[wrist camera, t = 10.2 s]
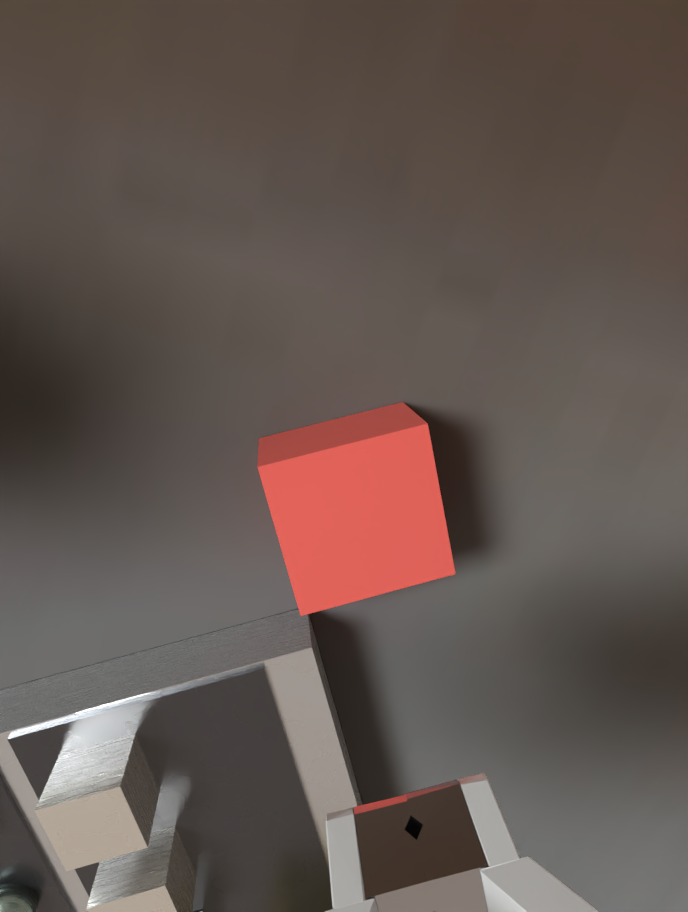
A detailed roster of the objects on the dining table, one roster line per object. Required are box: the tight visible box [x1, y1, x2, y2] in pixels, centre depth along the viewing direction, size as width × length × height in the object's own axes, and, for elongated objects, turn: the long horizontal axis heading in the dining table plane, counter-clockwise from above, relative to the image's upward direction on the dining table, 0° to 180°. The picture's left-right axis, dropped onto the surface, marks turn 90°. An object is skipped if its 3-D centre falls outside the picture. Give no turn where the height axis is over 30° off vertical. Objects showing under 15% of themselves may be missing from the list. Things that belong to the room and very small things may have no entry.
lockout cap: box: [258, 402, 455, 616], centre depth 22 cm, size 6×6×4 cm
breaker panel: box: [0, 609, 363, 912], centre depth 25 cm, size 18×16×6 cm
